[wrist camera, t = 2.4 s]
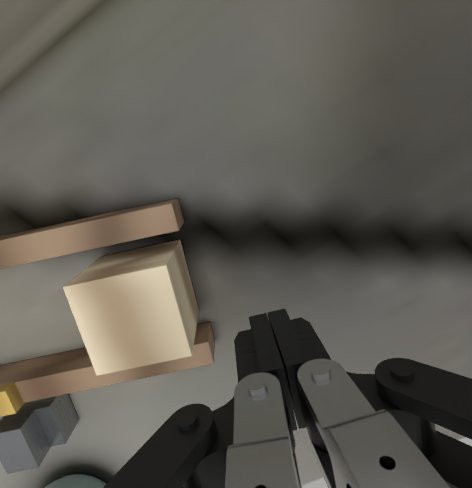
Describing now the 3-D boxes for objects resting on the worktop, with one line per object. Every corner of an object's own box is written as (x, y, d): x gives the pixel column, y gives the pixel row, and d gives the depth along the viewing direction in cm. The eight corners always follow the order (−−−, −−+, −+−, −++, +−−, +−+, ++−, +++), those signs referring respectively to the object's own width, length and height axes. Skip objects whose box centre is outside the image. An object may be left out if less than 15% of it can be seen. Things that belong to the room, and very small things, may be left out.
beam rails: (178, 197, 19) (168, 204, 16) (215, 341, 22) (213, 372, 19) (-163, 270, 20) (-238, 292, 16) (-86, 404, 22) (-138, 445, 19)
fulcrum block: (64, 385, 22) (36, 425, 19) (78, 419, 23) (54, 464, 20) (9, 396, 22) (-29, 438, 19) (25, 430, 23) (-9, 476, 20)
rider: (180, 239, 20) (166, 265, 15) (199, 311, 21) (191, 355, 16) (101, 256, 20) (62, 287, 15) (125, 326, 21) (96, 375, 16)
